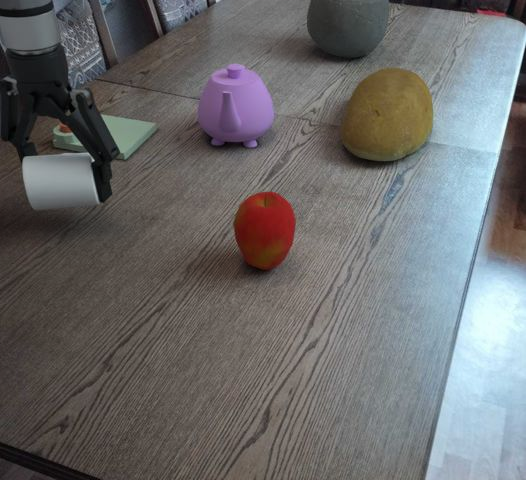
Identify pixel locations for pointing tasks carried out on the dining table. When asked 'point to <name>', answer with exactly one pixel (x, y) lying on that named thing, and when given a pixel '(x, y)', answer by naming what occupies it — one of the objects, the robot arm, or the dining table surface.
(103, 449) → the dining table surface
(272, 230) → the apple
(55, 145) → the scale
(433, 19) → the dining table surface
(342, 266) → the dining table surface
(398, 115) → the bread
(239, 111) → the teapot
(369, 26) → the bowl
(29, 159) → the mug
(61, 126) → the scale button
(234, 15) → the dining table surface
